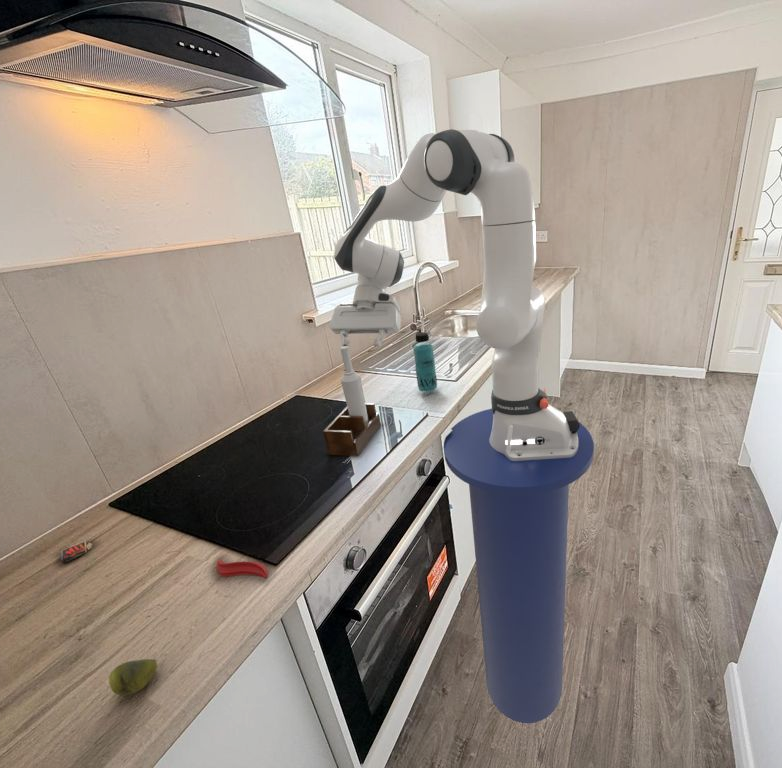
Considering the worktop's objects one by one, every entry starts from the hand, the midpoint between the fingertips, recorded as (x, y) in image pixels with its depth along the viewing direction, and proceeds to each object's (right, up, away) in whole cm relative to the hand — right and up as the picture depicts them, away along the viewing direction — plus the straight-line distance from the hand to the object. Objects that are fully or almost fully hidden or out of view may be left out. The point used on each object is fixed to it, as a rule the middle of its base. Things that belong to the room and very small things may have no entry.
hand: (361, 346), depth 114 cm
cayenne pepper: (-11, -44, -40) cm, 61 cm away
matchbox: (-47, -43, -33) cm, 72 cm away
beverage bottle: (+17, -13, +22) cm, 31 cm away
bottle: (0, -24, +1) cm, 24 cm away
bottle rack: (-1, -25, -2) cm, 25 cm away
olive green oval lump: (-16, -52, -57) cm, 79 cm away
